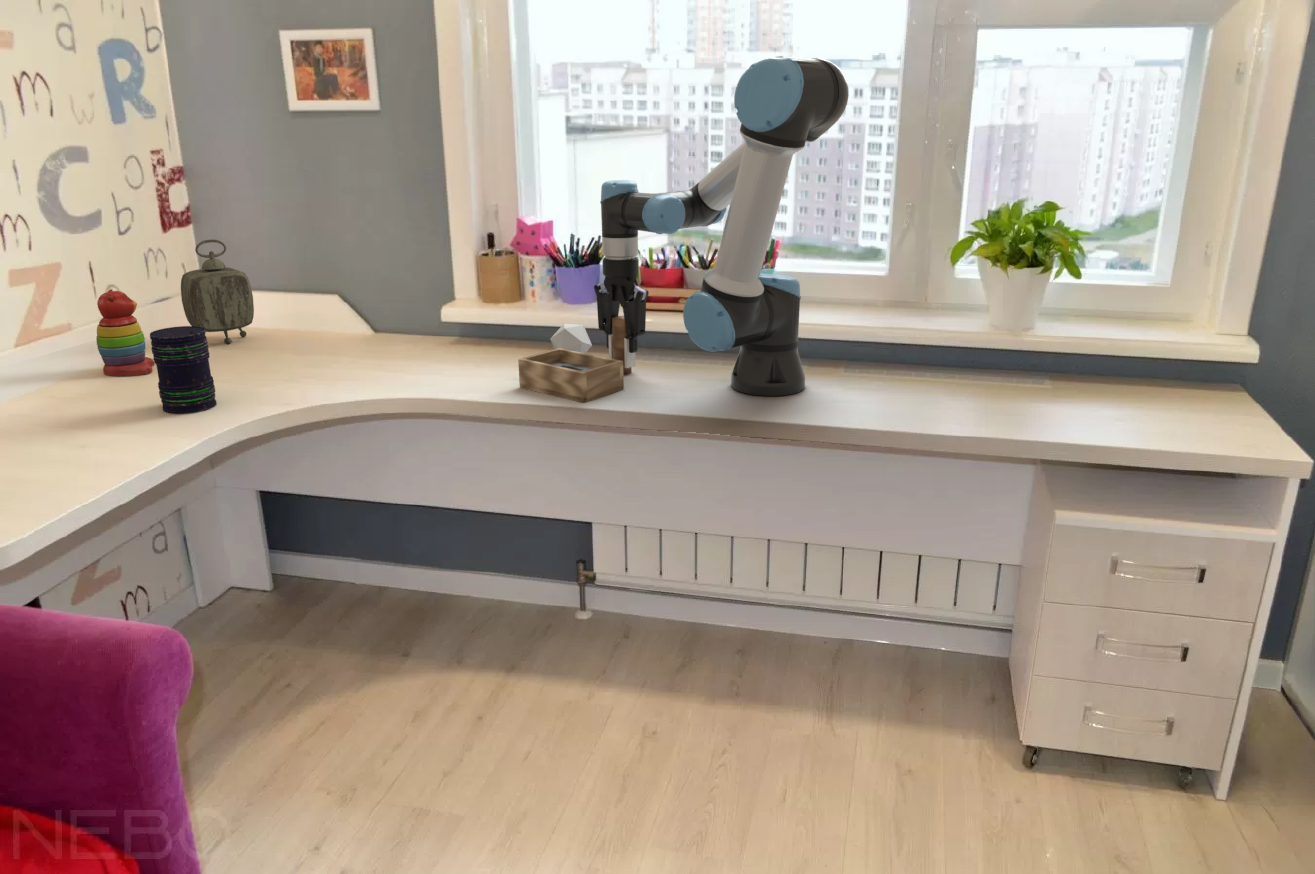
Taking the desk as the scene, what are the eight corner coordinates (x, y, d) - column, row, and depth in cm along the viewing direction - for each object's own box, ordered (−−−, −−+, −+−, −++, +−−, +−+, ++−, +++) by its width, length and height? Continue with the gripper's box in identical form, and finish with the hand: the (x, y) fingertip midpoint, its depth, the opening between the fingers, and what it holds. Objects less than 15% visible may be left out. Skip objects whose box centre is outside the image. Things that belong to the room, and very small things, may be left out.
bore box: (623, 389, 204) (623, 361, 202) (583, 403, 195) (582, 373, 193) (560, 375, 215) (559, 347, 213) (519, 387, 206) (518, 359, 204)
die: (598, 359, 230) (583, 322, 232) (592, 349, 222) (577, 310, 224) (565, 372, 230) (551, 335, 232) (558, 363, 222) (543, 324, 224)
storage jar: (151, 413, 190) (137, 336, 185) (181, 398, 200) (168, 325, 195) (199, 415, 189) (187, 338, 184) (227, 400, 198) (216, 326, 193)
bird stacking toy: (151, 374, 217) (137, 293, 211) (99, 379, 213) (83, 297, 208) (155, 362, 226) (141, 285, 221) (105, 367, 223) (90, 288, 217)
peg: (635, 371, 217) (634, 317, 213) (623, 375, 214) (622, 320, 210) (621, 368, 219) (620, 315, 215) (609, 372, 216) (608, 318, 212)
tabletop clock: (248, 335, 252) (234, 235, 244) (261, 341, 246) (247, 239, 238) (188, 344, 243) (172, 240, 235) (200, 350, 237) (183, 244, 229)
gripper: (662, 258, 206) (663, 367, 214) (602, 251, 216) (604, 355, 224) (639, 262, 201) (641, 375, 208) (578, 255, 211) (581, 362, 218)
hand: (622, 364), depth 216 cm, fingers closed on peg, 4 cm apart
